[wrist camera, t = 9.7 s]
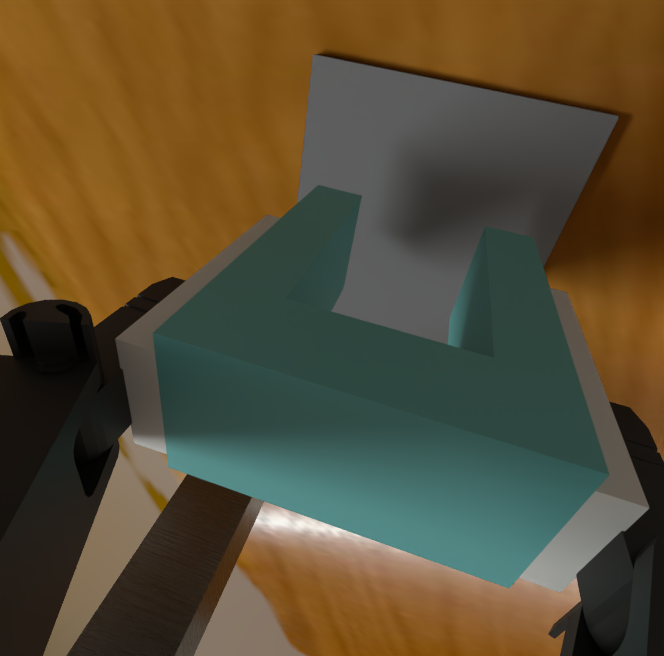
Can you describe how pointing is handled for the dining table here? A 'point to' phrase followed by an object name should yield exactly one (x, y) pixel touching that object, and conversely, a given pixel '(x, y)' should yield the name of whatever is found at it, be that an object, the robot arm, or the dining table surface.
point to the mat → (438, 180)
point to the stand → (173, 575)
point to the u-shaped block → (383, 399)
